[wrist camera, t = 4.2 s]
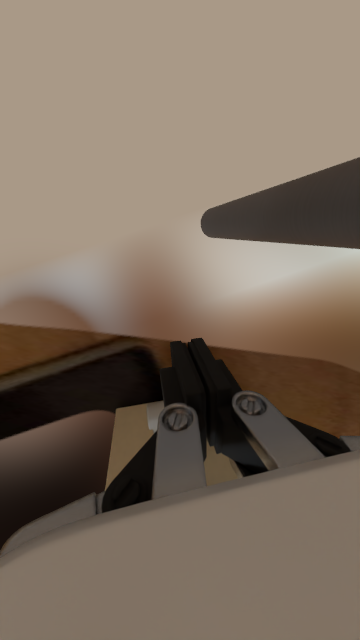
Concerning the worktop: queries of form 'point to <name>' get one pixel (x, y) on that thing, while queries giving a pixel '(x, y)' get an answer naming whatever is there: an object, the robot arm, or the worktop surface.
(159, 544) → the robot arm
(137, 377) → the worktop surface
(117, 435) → the drawer
